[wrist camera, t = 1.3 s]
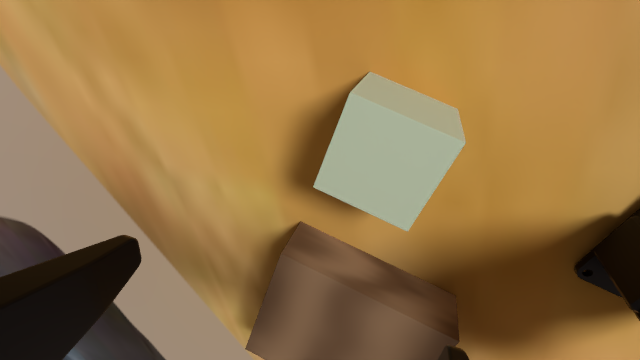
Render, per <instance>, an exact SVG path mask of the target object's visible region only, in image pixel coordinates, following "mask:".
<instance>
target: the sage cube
mask: <svg viewBox="0 0 640 360" xmlns="http://www.w3.org/2000/svg"><path fill="white" fill-rule="evenodd" d="M465 143H466V141H465V137H464V133H463V129H462V125H461V120H460V116H459V112H458V109H457V108H454V107H452V106H450V105H447V104H445V103H443V102H440V101H438V100H436V99H433V98H431V97H429V96H426V95H424V94H421V93H419V92H417V91H414V90H412V89H410V88H407V87H405V86H403V85H400V84H398V83H396V82H393V81H391V80H389V79H386V78H384V77H382V76H379V75H377V74H375V73H372V72H369V73H368V74H367V75H366V76H365V77H364V78H363V79H362V80H361V81H360V82H359V83H358V84H357V86H356V87H355V88H354V89H353V90H352V91H351V92H350V94H349V96H348V99H347V101H346V104H345V107H344V109H343V112H342V114H341V117H340V119H339V122H338V124H337V127H336V130H335V132H334V135H333V137H332V140H331V142H330V145H329V147H328V150H327V153H326V155H325V158H324V160H323V163H322V165H321V168H320V170H319V173H318V176H317V178H316V181H315V183H314V186H313V187H314V188H316V189H318V190H320V191H322V192H324V193H326V194H329V195H331V196H333V197H335V198H337V199H339V200H341V201H343V202H346V203H348V204H350V205H352V206H354V207H356V208H358V209H361V210H363V211H365V212H367V213H369V214H371V215H373V216H375V217H378V218H380V219H382V220H384V221H386V222H388V223H390V224H392V225H395V226H397V227H399V228H401V229H403V230H405V231H407V232H408V230H409V229H410V227H411V226H412V224H413V223H414V221H415V219H416V218H417V216H418V215H419V213H420V212H421V210H422V209H423V207H424V206H425V204H426V203H427V201H428V200H429V198H430V197H431V195H432V194H433V192H434V191H435V189H436V187H437V186H438V184H439V183H440V181H441V180H442V178H443V177H444V175H445V174H446V172H447V171H448V169H449V168H450V166H451V165H452V163H453V162H454V160H455V158H456V157H457V155H458V154H459V152H460V151H461V149H462V148H463V146H464V145H465Z"/></svg>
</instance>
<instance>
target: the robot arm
mask: <svg viewBox="0 0 640 360" xmlns="http://www.w3.org/2000/svg"><path fill="white" fill-rule="evenodd" d="M140 263H141V254H140V248H139V244H138V241H137V239H136V238H133V237H130V236H127V235H121V236H118V237H115V238H112V239H109V240H106V241H103V242H100V243H98V244H94V245H92V246H89V247H86V248H83V249H80V250H77V251H74V252H71V253H68V254H66V255H63V256H60V257H57V258H54V259H51V260H48V261H45V262H43V263H40V264H37V265H34V266H31V267H28V268H25V269H22V270H19V271H17V272H14V273H11V274H8V275H5V276H2V277H0V360H62V359H63V358H64V357H65V356H66V355H67V354H68V353H69V352H70V350H71V349H72V348H73V347H74V346H75V345H76V344H77V343H78V341H79V340H80V339H81V338H82V337H83V336H84V335H85V334H86V332H87V331H88V330H89V329H90V328H91V327H92V326H93V325H94V323H95V322H96V321H97V320H98V319H99V318H100V317H101V315H102V314H103V313H104V312H105V311H106V310H107V308H108V307H109V306H110V304H111V303H112V302H113V300H114V299H115V298H116V296H117V295H118V294H119V292H120V291H121V290H122V288H123V287H124V286H125V284H126V283H127V282H128V280H129V279H130V278H131V276H132V275H133V274H134V272H135V271H136V270H137V268H138V267H139V265H140ZM574 270H575V272H576V274H577V275H578V277H579V278H581V279H583V280H585V281H587V282H589V283H592V284H594V285H596V286H598V287H600V288H602V289H605V290H607V291H609V292H611V293H613V294H616V295H618V296H620V297H622V298H623V299H624V300H625V302H626V303H627V305H628V306H629V308H630V309H631V310H633V312H634V313H635V315H636V316H637V318H638V319H639V321H640V209H639V210H638V211H637V212H636V213H634V214H633V215H632V216H631V217H630V218H629V219H627V220H626V221H625V222H624V223H623V224H622V225H621V226H619V227H618V228H617V229H616V230H615V231H614V232H613V233H611V234H610V235H609V236H608V237H607V238H606V239H605V240H603V241H602V242H601V243H600V244H599V245H598V246H597V247H595V248H594V249H593V250H592V251H591V252H590V253H589V254H588V255H586V256H585V257H584V258H583V259H582V260H581V261H580V262H578V263H577V264H576V265H575V267H574ZM584 270H589V271H586V272H583V271H584ZM438 360H469V358H468V356H467V354H466V353H465V351H464V350H462V349H460V348H457V347H454V346H451V345H446V346H445V347H444V349H443V351H442V352H441V354H440V356H439V358H438Z"/></svg>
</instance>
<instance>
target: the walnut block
mask: <svg viewBox="0 0 640 360" xmlns="http://www.w3.org/2000/svg"><path fill="white" fill-rule="evenodd" d="M458 343H459V330H458V317H457V304H456V296H455V295H453V294H451V293H449V292H447V291H445V290H442V289H440V288H438V287H436V286H434V285H432V284H430V283H428V282H426V281H424V280H422V279H420V278H418V277H415V276H413V275H411V274H409V273H407V272H405V271H403V270H401V269H399V268H397V267H395V266H393V265H390V264H388V263H386V262H384V261H382V260H380V259H378V258H376V257H374V256H372V255H370V254H368V253H365V252H363V251H361V250H359V249H357V248H355V247H353V246H351V245H349V244H347V243H345V242H343V241H340V240H338V239H336V238H334V237H332V236H330V235H328V234H326V233H324V232H322V231H320V230H318V229H316V228H313V227H311V226H309V225H307V224H305V223H303V222H300V223H299V225H298V227H297V228H296V230H295V232H294V233H293V235H292V236H291V238H290V240H289V241H288V243H287V245H286V246H285V248H284V249H283V251H282V253H281V255H280V258H279V260H278V263H277V266H276V268H275V271H274V274H273V276H272V279H271V282H270V284H269V287H268V290H267V292H266V295H265V298H264V300H263V303H262V306H261V308H260V311H259V314H258V316H257V319H256V322H255V324H254V327H253V330H252V332H251V335H250V338H249V340H248V343H247V346H246V348H245V349H246V350H248V351H250V352H252V353H254V354H256V355H258V356H260V357H261V358H263V359H265V360H438V358H439V356H440V354H441V352H442V351H443V349H444V347H445V346H446V345H451V346H456V345H457V344H458Z"/></svg>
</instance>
